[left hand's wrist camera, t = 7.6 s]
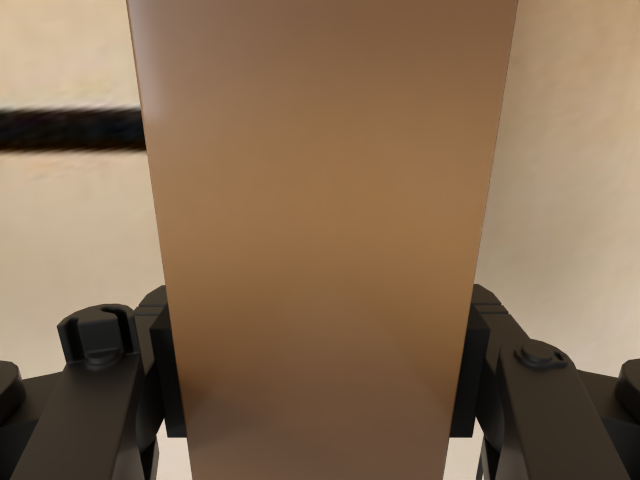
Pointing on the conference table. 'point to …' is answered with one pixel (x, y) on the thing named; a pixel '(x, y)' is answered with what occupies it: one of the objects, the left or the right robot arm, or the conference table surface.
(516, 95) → the conference table surface
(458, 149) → the beam
